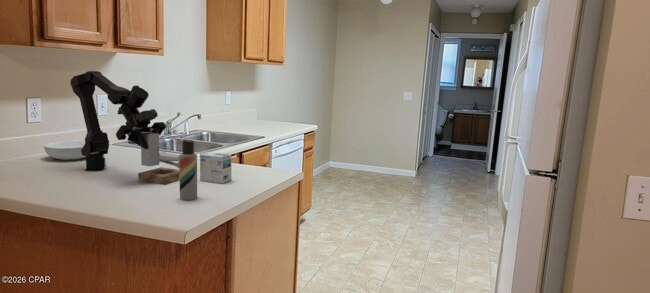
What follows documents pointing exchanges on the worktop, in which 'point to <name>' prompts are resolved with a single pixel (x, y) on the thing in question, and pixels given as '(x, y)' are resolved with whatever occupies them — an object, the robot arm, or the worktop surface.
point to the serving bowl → (65, 150)
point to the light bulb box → (215, 167)
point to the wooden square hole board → (160, 175)
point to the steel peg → (150, 149)
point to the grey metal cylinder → (168, 157)
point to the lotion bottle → (188, 171)
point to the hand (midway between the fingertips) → (152, 148)
